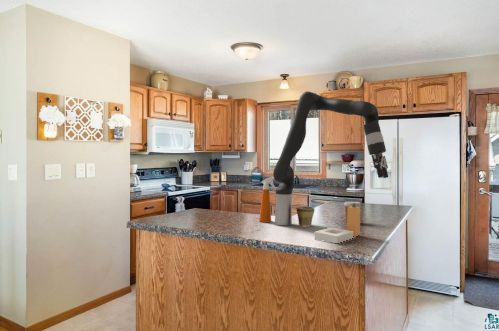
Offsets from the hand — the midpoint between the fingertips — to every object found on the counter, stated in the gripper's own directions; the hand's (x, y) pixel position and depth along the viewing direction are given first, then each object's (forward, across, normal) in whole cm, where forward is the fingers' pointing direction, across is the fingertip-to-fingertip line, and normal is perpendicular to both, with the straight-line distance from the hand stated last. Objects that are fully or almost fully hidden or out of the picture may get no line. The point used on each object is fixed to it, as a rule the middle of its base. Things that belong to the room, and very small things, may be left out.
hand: (383, 177), depth 159 cm
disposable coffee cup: (+19, -34, -31) cm, 50 cm away
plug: (+24, -4, -21) cm, 33 cm away
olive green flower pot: (+16, -13, -50) cm, 54 cm away
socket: (+24, +8, -26) cm, 36 cm away
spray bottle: (+10, -8, -71) cm, 73 cm away
